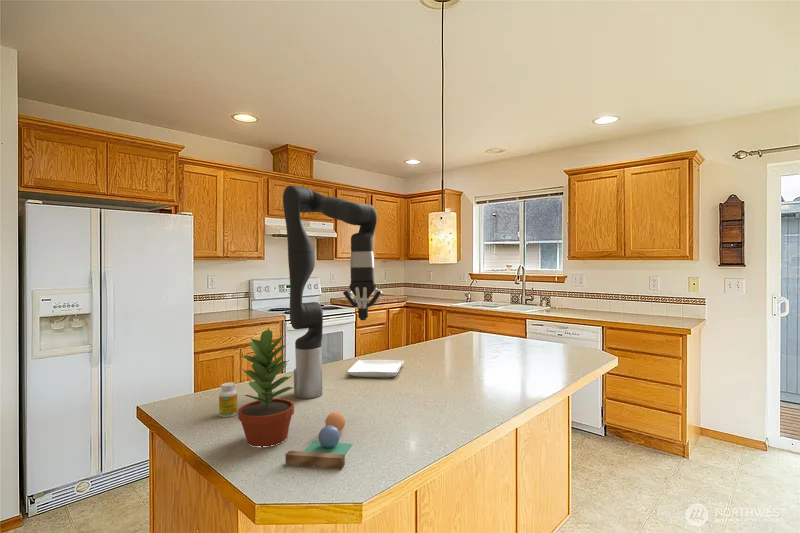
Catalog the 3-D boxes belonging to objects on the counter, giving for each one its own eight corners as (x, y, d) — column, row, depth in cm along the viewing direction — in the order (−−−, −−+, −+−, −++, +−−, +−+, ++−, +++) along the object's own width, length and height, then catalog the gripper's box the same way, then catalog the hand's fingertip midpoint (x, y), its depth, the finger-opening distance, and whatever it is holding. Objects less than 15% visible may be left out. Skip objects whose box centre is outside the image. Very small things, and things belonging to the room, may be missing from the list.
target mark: (295, 461, 103) (295, 460, 103) (312, 441, 113) (312, 441, 113) (338, 464, 101) (338, 463, 101) (352, 444, 111) (352, 443, 111)
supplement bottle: (220, 418, 131) (219, 387, 131) (218, 413, 136) (218, 383, 136) (238, 415, 134) (238, 384, 134) (236, 410, 139) (236, 380, 138)
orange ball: (332, 415, 124) (333, 435, 121) (321, 413, 120) (321, 433, 117) (348, 411, 122) (349, 431, 119) (337, 409, 118) (338, 430, 115)
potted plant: (240, 457, 105) (237, 336, 105) (237, 434, 119) (234, 327, 119) (301, 445, 111) (298, 331, 111) (291, 425, 125) (289, 323, 125)
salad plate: (358, 366, 195) (358, 358, 194) (404, 367, 192) (404, 359, 192) (346, 379, 174) (346, 371, 174) (397, 380, 171) (397, 372, 171)
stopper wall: (285, 464, 101) (285, 454, 101) (289, 460, 103) (289, 450, 103) (342, 469, 98) (341, 458, 98) (344, 465, 100) (344, 454, 100)
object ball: (322, 444, 113) (314, 450, 107) (323, 422, 113) (315, 427, 108) (342, 445, 112) (335, 451, 106) (343, 423, 113) (336, 428, 107)
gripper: (338, 266, 134) (339, 321, 134) (379, 265, 131) (380, 321, 132) (346, 266, 141) (347, 318, 141) (384, 265, 139) (385, 318, 139)
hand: (363, 319), depth 137 cm, fingers closed
